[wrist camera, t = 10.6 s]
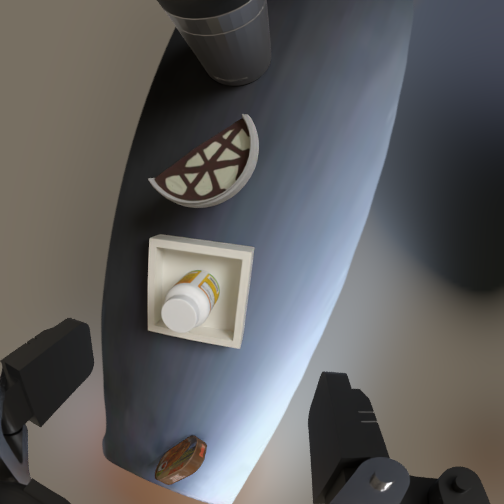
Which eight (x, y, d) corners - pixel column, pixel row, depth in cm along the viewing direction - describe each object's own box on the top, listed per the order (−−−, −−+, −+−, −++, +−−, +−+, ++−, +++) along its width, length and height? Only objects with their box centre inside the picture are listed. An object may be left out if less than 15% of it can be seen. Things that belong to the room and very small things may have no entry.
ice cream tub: (200, 222, 38) (174, 233, 28) (176, 183, 38) (144, 182, 28) (282, 171, 36) (282, 163, 26) (255, 131, 35) (247, 110, 26)
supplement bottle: (177, 297, 40) (149, 327, 30) (188, 262, 39) (161, 284, 29) (213, 312, 40) (194, 346, 30) (226, 277, 39) (209, 304, 29)
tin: (200, 428, 46) (189, 461, 38) (213, 437, 46) (204, 470, 38) (160, 454, 49) (148, 482, 41) (172, 462, 49) (161, 490, 41)
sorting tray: (160, 234, 39) (149, 238, 36) (254, 247, 38) (252, 252, 35) (157, 320, 42) (148, 330, 38) (243, 336, 41) (239, 348, 37)
